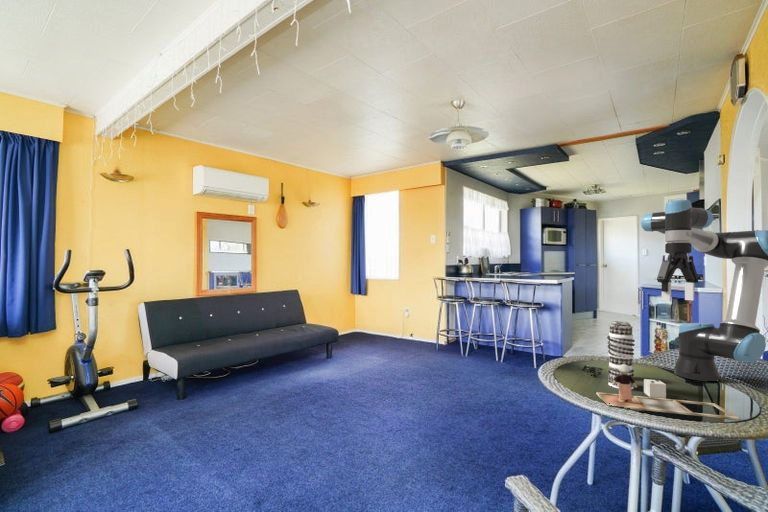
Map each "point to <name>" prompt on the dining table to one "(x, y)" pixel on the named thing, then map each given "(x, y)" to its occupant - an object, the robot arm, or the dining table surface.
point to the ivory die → (655, 388)
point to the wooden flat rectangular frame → (661, 405)
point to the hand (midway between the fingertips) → (678, 300)
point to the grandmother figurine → (624, 384)
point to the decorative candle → (620, 350)
